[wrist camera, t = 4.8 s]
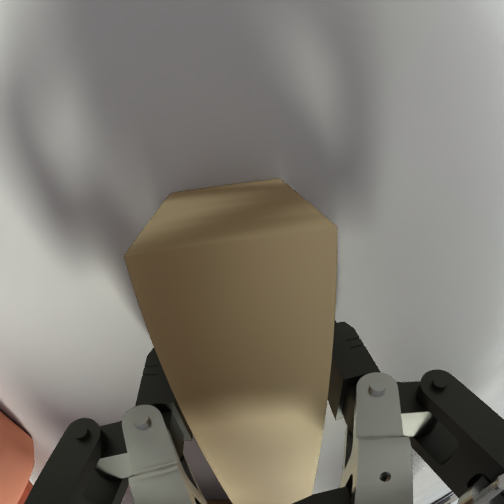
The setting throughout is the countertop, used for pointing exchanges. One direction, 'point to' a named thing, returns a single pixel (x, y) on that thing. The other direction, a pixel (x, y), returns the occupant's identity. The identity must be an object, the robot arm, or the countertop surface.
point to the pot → (14, 462)
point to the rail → (244, 328)
